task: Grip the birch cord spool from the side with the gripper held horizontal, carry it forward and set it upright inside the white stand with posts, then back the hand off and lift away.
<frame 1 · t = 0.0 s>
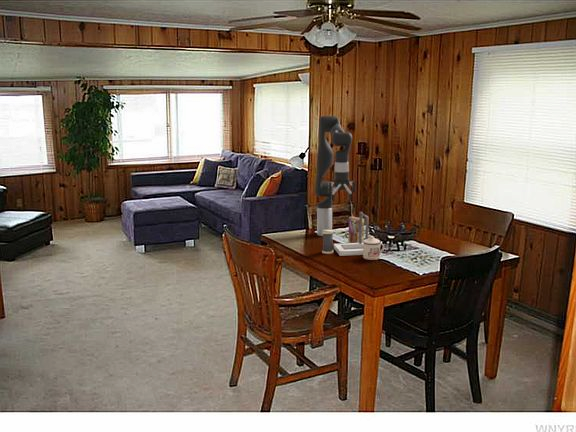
hand: (341, 201, 299), 29 cm above the table, tool pointing down, fingers open, 8 cm apart
candy box: (356, 243, 327), on the table
white stand with posts: (354, 251, 311), on the table
teacup with lid: (373, 257, 298), on the table
cord spool: (327, 252, 309), on the table
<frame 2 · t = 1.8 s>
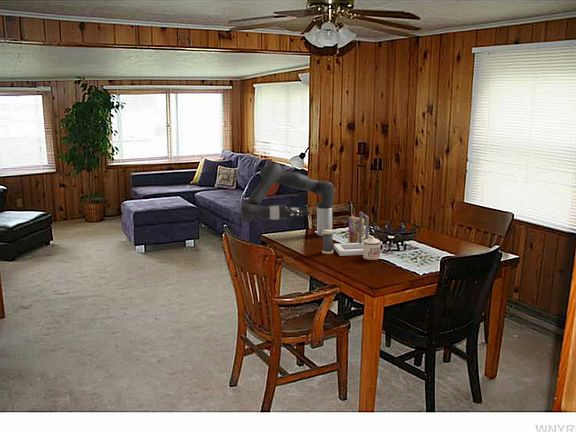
hand: (307, 211, 303), 23 cm above the table, tool horizontal, fingers open, 8 cm apart
nothing on the table moved.
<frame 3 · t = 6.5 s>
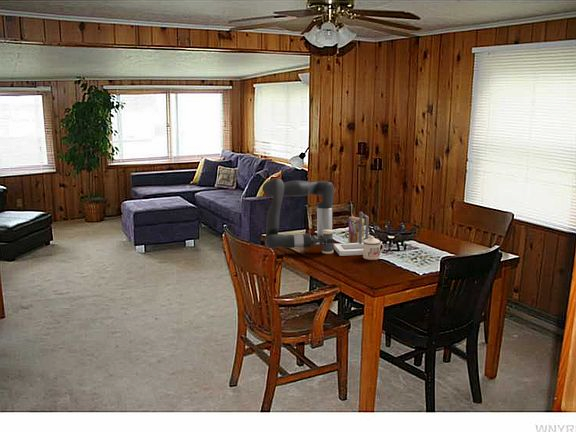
hand: (332, 239, 308), 7 cm above the table, tool horizontal, fingers closed on cord spool, 5 cm apart
cord spool: (327, 252, 309), on the table, touching gripper
everything else where it was.
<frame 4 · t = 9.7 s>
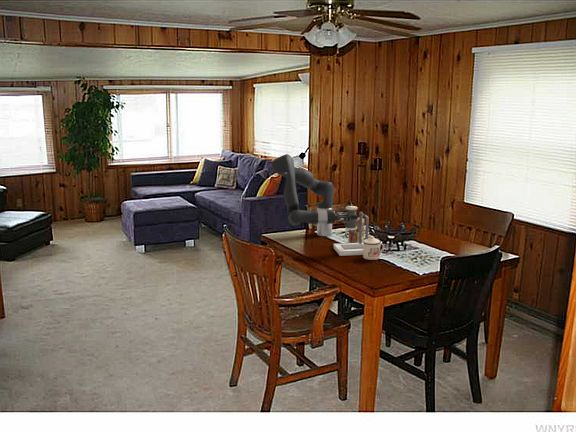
hand: (355, 216, 307), 20 cm above the table, tool horizontal, fingers closed on cord spool, 5 cm apart
cord spool: (351, 228, 308), point 13 cm above the table, touching gripper
everything else where it was.
when the fingers open (8 cm above the table, at t = 12.8 s): cord spool drops 1 cm, resting in white stand with posts.
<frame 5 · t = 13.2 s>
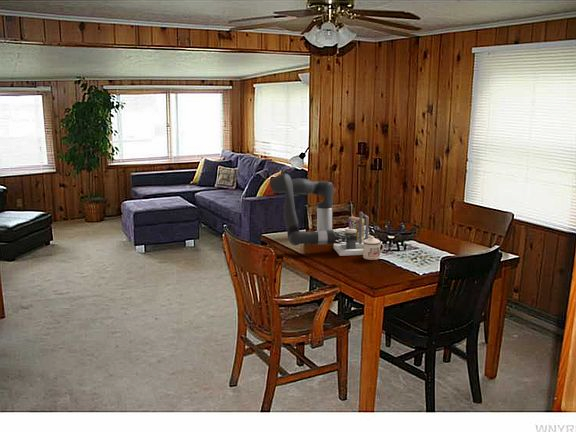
hand: (354, 236, 309), 9 cm above the table, tool horizontal, fingers open, 8 cm apart
cord spool: (350, 251, 311), resting in white stand with posts
everything else where it was.
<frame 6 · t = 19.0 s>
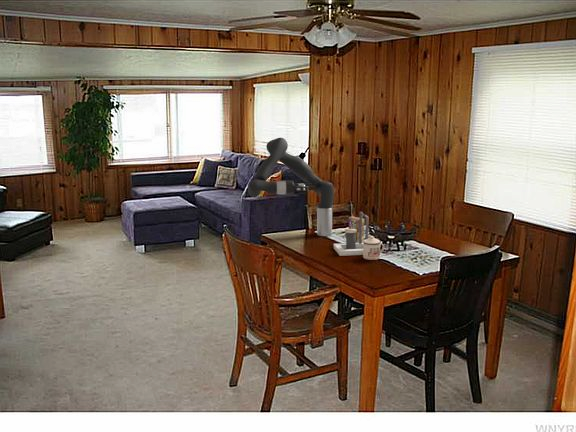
hand: (313, 186, 311), 35 cm above the table, tool horizontal, fingers open, 8 cm apart
nothing on the table moved.
at the end: cord spool inside the target area (1.1 cm from its centre), resting in white stand with posts; cord spool tilted 1°; the gripper is holding nothing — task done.
